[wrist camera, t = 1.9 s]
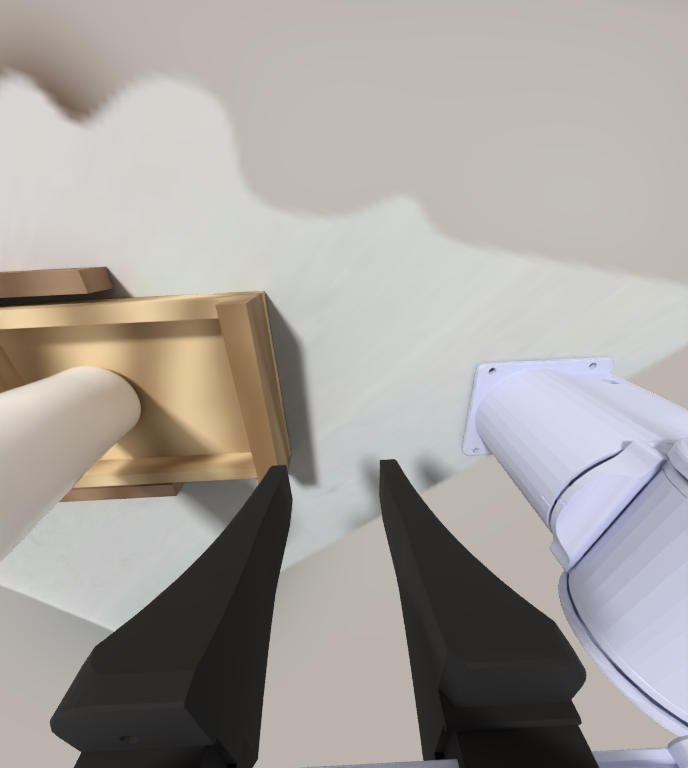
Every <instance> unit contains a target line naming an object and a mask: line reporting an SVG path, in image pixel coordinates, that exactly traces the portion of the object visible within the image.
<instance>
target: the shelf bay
mask: <svg viewBox="0 0 688 768" xmlns="http://www.w3.org/2000/svg"><path fill="white" fill-rule="evenodd" d="M112 288H114V286H113V284H112V281H111V279H110V276H109V274H108V271H107V269H106V267H91V268H71V269H51V270H31V271H10V272H0V298H7V297H27V296H47V295H67V294H87V293H93V292H98V291H103V290H108V289H112ZM184 483H185V482H176V483H157V484H138V485H118V486H99V487H80V488H72V489H71V490H70V491H69V492H68V493H67V494H66V495H65V496H64V497H63V498H62V499H61V500H60V501H59V502H69V501H88V500H107V499H126V498H146V497H165V496H177V494H178V493H179V491H180V490H181V488H182V486H183V485H184Z"/></svg>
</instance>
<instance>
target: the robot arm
mask: <svg viewBox="0 0 688 768" xmlns="http://www.w3.org/2000/svg"><path fill="white" fill-rule="evenodd" d="M590 364H592V365H591V366H590ZM613 365H614V361H613V360H612V359H610V358H608V357H597V358H577V359H557V360H537V361H518V362H498V363H483V364H480V365H479V366H478V367H477V369H476V373H475V378H474V384H473V389H472V395H471V400H470V406H469V411H468V417H467V422H466V428H465V433H464V439H463V444H462V451H463V453H464V454H465V455H482V454H493V455H494V456H495V457H496V459H497V460H498V462H499V463H500V464H501V465H502V467H503V468H504V469H505V471H506V472H507V474H508V475H509V476H510V478H511V479H512V480H513V482H514V483H515V484H516V486H517V487H518V488H519V490H520V491H521V492H522V493H523V495H524V496H525V498H526V499H527V500H528V502H529V503H530V504H531V506H532V507H533V509H535V511H536V513H537V514H538V515H539V517H540V518H541V519H542V521H543V522H544V523H545V525H546V526H547V527H548V529H549V530H550V531H551V532H552V534H553V537H554V539H553V543H552V545H551V546H550V550H551V552H552V553H553V555H554V556H555V558H556V559H557V560H558V562H559V563H560V565H561V566H562V568H563V569H564V571H563V573H562V575H561V576H560V580H559V585H558V590H559V598H560V602H561V606H562V608H563V611H564V614H565V616H566V619H567V621H568V622H569V624H570V626H571V628H572V630H573V632H574V633H575V635H576V637H577V638H578V640H579V641H580V643H581V645H582V646H583V648H584V649H585V650H586V652H587V653H588V654H589V656H590V657H591V658H592V660H593V661H594V662H595V664H596V665H597V666H598V667H599V668H600V669H601V671H602V672H603V673H604V674H605V675H606V676H607V677H608V679H609V680H610V681H611V682H612V683H613V684H614V685H615V686H616V687H617V688H618V689H619V690H620V691H621V692H622V693H623V694H624V695H625V696H626V697H627V698H629V700H631V701H632V702H633V703H634V704H635V705H636V706H637V707H639V708H640V709H641V710H642V711H643V712H644V713H646V714H647V715H648V716H650V717H651V718H652V719H654V720H655V721H656V722H658V723H659V724H660V725H661V726H663V727H664V728H666V729H668V730H669V731H671V732H672V733H674V734H675V735H677V736H679V737H678V738H676V739H674V740H673V741H671V742H670V743H669V744H668V747H665V748H648V749H628V750H611V751H593V752H591V750H590V748H589V746H588V744H587V742H586V740H585V738H584V736H583V734H582V732H581V730H580V728H579V726H578V725H580V724H581V723H582V722H581V718H580V716H579V714H578V712H577V710H576V708H575V706H574V704H573V702H572V700H571V699H572V698H573V697H574V696H575V694H576V693H577V692H578V691H579V690H580V688H581V687H582V686H583V684H584V682H585V680H586V671H585V668H584V666H583V665H582V663H581V662H580V660H579V658H578V656H577V654H576V653H575V651H574V650H573V648H572V646H571V645H570V643H569V642H568V640H567V639H566V637H565V636H564V635H563V633H562V632H561V630H560V629H559V627H558V626H557V625H556V623H555V622H554V621H553V620H552V619H550V618H549V617H547V616H546V615H545V614H544V613H542V612H541V611H539V610H538V609H537V608H535V607H534V606H533V605H531V604H530V603H529V602H527V601H526V600H525V599H524V598H522V597H521V596H520V595H518V594H517V593H516V592H515V591H513V590H512V589H511V588H510V587H509V586H507V585H506V584H505V583H504V582H503V581H501V580H500V579H499V578H498V577H496V576H495V575H494V574H493V573H492V572H491V571H490V570H489V569H488V568H487V567H485V566H484V565H483V564H482V563H481V562H480V561H479V560H478V559H477V558H475V557H474V556H473V555H472V554H471V553H470V552H469V551H468V550H467V549H466V548H465V547H464V546H463V545H462V544H461V543H460V542H459V541H458V540H457V539H456V538H455V537H454V536H453V535H452V534H451V533H450V532H449V531H448V530H447V528H446V527H445V526H444V525H443V524H442V523H441V522H440V521H439V519H438V518H437V517H436V516H435V515H434V514H433V512H432V511H431V510H430V509H429V507H428V506H427V505H426V504H425V502H424V501H423V500H422V498H421V497H420V496H419V494H418V493H417V492H416V490H415V489H414V487H413V486H412V485H411V483H410V482H409V480H408V479H407V477H406V475H405V474H404V472H403V471H402V469H401V467H400V466H399V464H398V462H397V461H396V460H395V459H390V460H380V491H379V496H380V503H381V511H382V518H383V523H384V527H385V531H386V535H387V540H388V544H389V548H390V552H391V556H392V560H393V564H394V569H395V572H396V577H397V582H398V587H399V592H400V599H401V605H402V611H403V618H404V624H405V631H406V638H407V644H408V651H409V657H410V665H411V672H412V679H413V686H414V693H415V701H416V708H417V715H418V723H419V730H420V738H421V745H422V754H423V760H424V761H415V762H398V763H397V762H396V763H378V764H360V765H342V766H324V767H307V768H688V409H686V408H683V407H681V406H679V405H677V404H675V403H673V402H671V401H668V400H667V399H664V398H662V397H660V396H658V395H656V394H654V393H652V392H650V391H648V390H645V389H643V388H641V387H639V386H637V385H635V384H633V383H631V382H629V381H626V380H624V379H622V378H620V377H618V376H616V375H614V374H612V373H610V372H611V370H612V368H613ZM589 366H590V367H589ZM491 368H494V369H493V371H492V372H489V370H490V369H491ZM474 448H476V449H475V450H473V449H474ZM292 500H293V499H292V494H291V488H290V483H289V477H288V471H287V466H286V465H274V466H271V467H270V468H269V470H268V471H267V473H266V474H265V476H264V477H263V479H262V480H261V482H260V483H259V485H258V486H257V488H256V489H255V491H254V492H253V493H252V495H251V496H250V498H249V499H248V500H247V502H246V503H245V504H244V506H243V507H242V508H241V510H240V511H239V512H238V514H237V515H236V516H235V517H234V519H233V520H232V521H231V522H230V524H229V525H228V526H227V527H226V528H225V530H224V531H223V532H222V533H221V534H220V535H219V537H218V538H217V539H216V540H215V541H214V542H213V543H212V544H211V545H210V547H209V548H208V549H207V550H206V551H205V552H204V553H203V554H202V555H201V556H200V557H199V558H198V559H197V560H196V561H195V562H194V563H193V564H192V565H191V566H190V567H189V568H188V569H187V570H186V571H185V572H184V573H183V574H182V575H181V576H180V577H179V578H178V579H177V580H176V581H174V582H173V583H172V584H171V585H170V586H169V587H168V588H167V589H165V590H164V591H163V592H162V593H161V594H160V595H159V596H157V597H156V598H155V599H154V600H153V601H152V602H151V603H150V604H148V605H147V606H146V607H145V608H144V609H142V610H141V611H140V612H139V613H138V614H136V615H135V616H134V617H133V618H131V619H130V620H129V621H128V622H126V623H125V624H124V625H122V626H121V627H120V628H119V629H117V630H116V631H115V632H113V633H112V634H111V635H110V636H108V637H107V638H106V639H105V640H103V641H102V642H101V643H99V644H98V645H97V646H95V648H94V649H93V651H92V652H91V654H90V655H89V657H88V658H87V660H86V661H85V663H84V664H83V666H82V667H81V669H80V671H79V672H78V674H77V676H76V677H75V679H74V681H73V683H72V684H71V686H70V688H69V689H68V691H67V693H66V694H65V696H64V698H63V699H62V702H61V703H60V704H59V706H58V708H57V710H56V711H55V713H54V715H53V716H52V718H51V720H50V726H51V730H52V732H53V733H54V734H55V735H56V736H58V737H59V738H61V739H62V740H64V741H65V742H67V743H68V744H70V745H71V746H73V747H74V748H76V749H77V750H79V751H81V754H80V756H79V758H78V760H77V762H76V764H75V766H74V768H252V767H253V766H254V764H255V763H256V761H257V760H258V751H259V740H260V729H261V717H262V706H263V696H264V687H265V677H266V668H267V658H268V649H269V641H270V633H271V623H272V617H273V609H274V601H275V594H276V588H277V583H278V578H279V574H280V569H281V564H282V560H283V555H284V551H285V546H286V541H287V537H288V532H289V527H290V520H291V511H292Z"/></svg>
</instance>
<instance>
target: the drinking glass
mask: <svg viewBox="0 0 688 768" xmlns="http://www.w3.org/2000/svg"><path fill="white" fill-rule="evenodd" d="M140 415H141V403H140V400H139V397H138V395H137V393H136V391H135V390H134V389H133V387H132V386H131V385H130V384H129V383H128V382H127V381H126V380H125V379H124V378H122V377H121V376H119V375H118V374H116V373H114V372H112V371H110V370H107V369H104V368H101V367H96V366H77V367H73V368H69V369H66V370H64V371H62V372H59V373H57V374H54V375H52V376H50V377H47V378H44V379H41V380H38V381H35V382H32V383H29V384H26V385H23V386H20V387H17V388H14V389H11V390H8V391H5V392H2V393H0V563H1V562H2V561H3V560H4V559H5V558H6V557H7V556H8V555H9V554H10V552H11V551H12V550H13V549H14V548H15V547H16V546H17V545H18V544H19V543H20V542H21V541H22V540H23V539H24V538H25V537H26V536H27V535H28V534H29V533H30V532H31V531H32V530H33V529H34V527H35V526H36V525H37V524H38V523H39V522H40V521H41V520H42V519H43V518H44V517H45V516H46V515H47V514H48V513H49V512H50V511H51V510H52V509H53V508H54V507H55V506H56V504H57V503H58V502H59V501H60V500H61V499H62V498H63V497H64V496H65V495H66V494H67V493H68V492H69V491H70V490H71V489H72V488H73V487H74V486H75V485H76V484H77V483H78V482H79V481H80V480H81V479H82V477H83V476H84V475H85V474H86V473H87V472H88V471H89V470H90V469H91V468H92V467H93V466H94V465H95V464H96V463H97V462H98V461H99V460H100V459H101V458H102V457H103V456H104V455H105V454H106V453H107V452H108V451H109V450H110V449H111V448H112V447H113V446H114V445H115V444H116V443H117V442H118V441H119V440H120V439H121V438H122V437H124V436H125V435H126V434H127V433H128V432H129V431H131V430H132V429H133V428H134V426H135V425H136V424H137V422H138V420H139V418H140Z"/></svg>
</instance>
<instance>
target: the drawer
mask: <svg viewBox="0 0 688 768" xmlns="http://www.w3.org/2000/svg"><path fill="white" fill-rule="evenodd" d="M77 366H96V367H101V368H104V369H107V370H110V371H112V372H114V373H116V374H118V375H119V376H121V377H122V378H124V379H125V380H126V381H127V382H128V383H129V384H130V385H131V386H132V387H133V389H134V390H135V391H136V393H137V395H138V397H139V400H140V403H141V415H140V418H139V420H138V422H137V424H136V425H135V426H134V428H133V429H132V430H131V431H129V432H128V433H127V434H126V435H125V436H124V437H122V438H121V439H120V440H119V441H118V442H117V443H116V444H115V445H114V446H113V447H112V448H111V449H110V450H109V451H108V452H107V453H106V454H105V455H104V456H103V457H102V458H101V459H100V460H99V461H98V462H97V463H96V464H95V465H94V466H93V467H92V468H91V469H90V470H89V471H88V472H87V473H86V474H85V475H84V476H83V477H82V479H81V480H80V481H79V482H78V483H77V484H76V485H75V486H74V487H73V488H80V487H99V486H118V485H138V484H157V483H176V482H195V481H214V480H234V479H253V478H258V482H259V483H260V482H261V480H262V479H263V477H264V476H265V474H266V473H267V471H268V470H269V468H270V467H271V466H274V465H286V466H287V471H288V468H289V464H290V459H291V450H290V444H289V438H288V432H287V426H286V420H285V414H284V408H283V402H282V395H281V389H280V383H279V377H278V371H277V365H276V359H275V353H274V347H273V341H272V335H271V329H270V323H269V316H268V310H267V304H266V298H265V292H264V291H256V292H235V293H215V294H195V295H175V296H155V297H135V298H115V299H95V300H75V301H55V302H35V303H14V304H0V393H2V392H5V391H8V390H11V389H14V388H17V387H20V386H23V385H26V384H29V383H32V382H35V381H38V380H41V379H44V378H47V377H50V376H52V375H54V374H57V373H59V372H62V371H64V370H66V369H69V368H73V367H77Z"/></svg>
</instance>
